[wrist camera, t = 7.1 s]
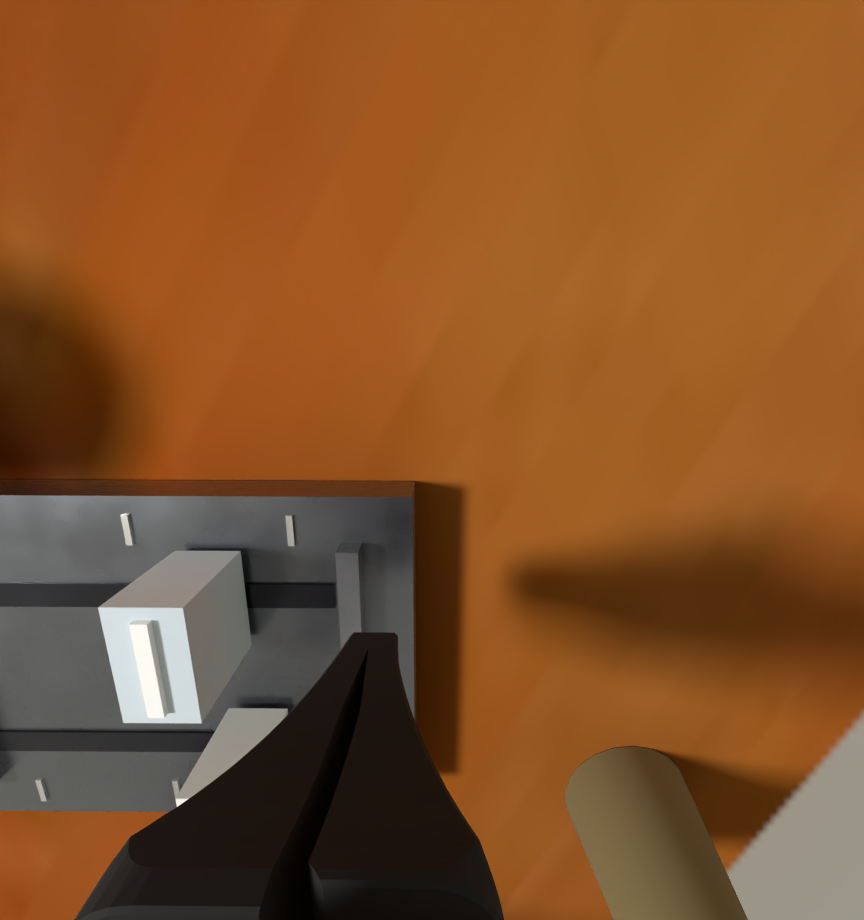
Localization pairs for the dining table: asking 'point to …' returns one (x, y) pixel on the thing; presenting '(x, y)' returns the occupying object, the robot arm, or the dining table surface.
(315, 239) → the dining table surface
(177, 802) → the fader cream
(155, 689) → the fader bluegrey
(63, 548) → the console
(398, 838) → the robot arm
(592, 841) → the tan bulb-headed cylinder
